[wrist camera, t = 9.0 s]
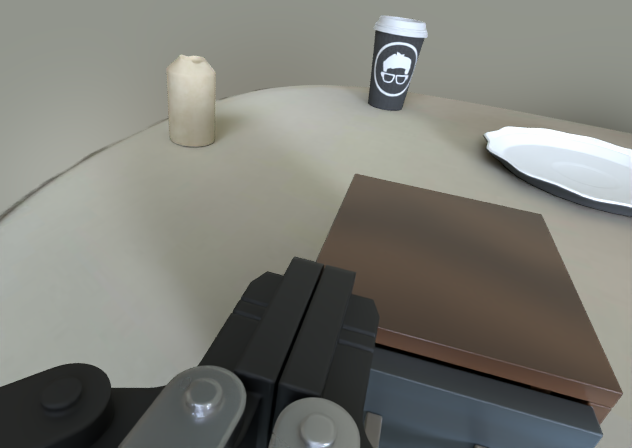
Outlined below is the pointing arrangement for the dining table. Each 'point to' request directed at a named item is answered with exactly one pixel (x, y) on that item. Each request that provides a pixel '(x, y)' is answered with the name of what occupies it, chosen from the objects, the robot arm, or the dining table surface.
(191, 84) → the candle
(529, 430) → the drawer
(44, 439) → the robot arm
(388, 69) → the coffee cup
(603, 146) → the plate
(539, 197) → the dining table surface
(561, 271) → the cabinet
